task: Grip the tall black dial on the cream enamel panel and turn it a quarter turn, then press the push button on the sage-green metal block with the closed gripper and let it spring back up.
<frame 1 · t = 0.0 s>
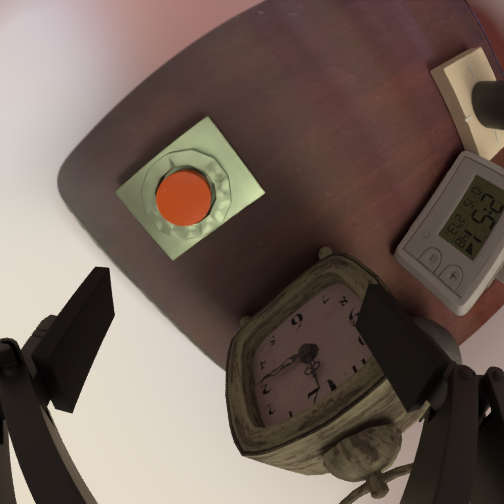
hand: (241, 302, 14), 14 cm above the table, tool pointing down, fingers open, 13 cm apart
button block: (190, 186, 25), on the table
product box: (500, 252, 33), on the table
digital clock: (437, 209, 29), on the table
bowl: (385, 345, 36), on the table
tabletop clock: (300, 300, 31), on the table
push button: (184, 197, 21), point 4 cm above the table, slide at 0.1 cm
dial panel: (471, 104, 24), on the table
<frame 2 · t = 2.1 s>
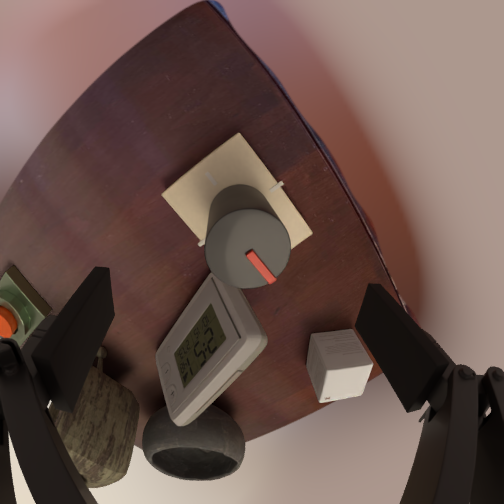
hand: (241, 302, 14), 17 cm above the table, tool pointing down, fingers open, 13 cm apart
button block: (18, 304, 31), on the table
product box: (328, 346, 38), on the table
digital clock: (202, 320, 35), on the table
bowl: (194, 413, 42), on the table
tabletop clock: (102, 375, 37), on the table
push button: (3, 322, 27), point 4 cm above the table, slide at 0.1 cm
dial panel: (238, 207, 30), on the table
dial: (243, 229, 23), point 7 cm above the table, hinge at 0.0°
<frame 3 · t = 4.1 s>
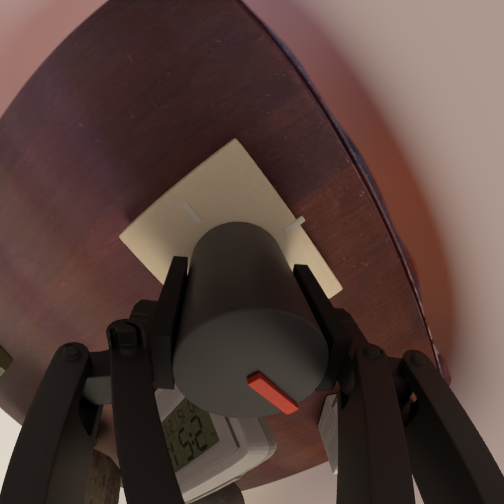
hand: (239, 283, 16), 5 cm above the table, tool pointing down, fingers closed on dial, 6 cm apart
product box: (345, 405, 29), on the table
digital clock: (190, 386, 25), on the table
bowl: (186, 467, 32), on the table
tabletop clock: (79, 428, 28), on the table
dial panel: (235, 250, 20), on the table
dial: (242, 307, 14), point 7 cm above the table, hinge at -0.1°, touching gripper
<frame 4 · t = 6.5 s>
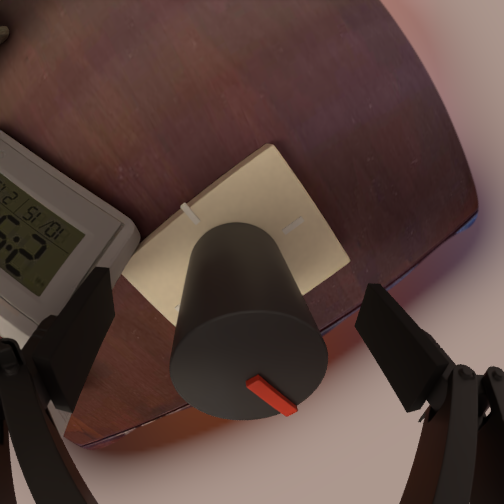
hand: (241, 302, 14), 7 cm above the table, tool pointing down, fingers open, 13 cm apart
product box: (49, 365, 23), on the table
digital clock: (48, 199, 17), on the table
dial panel: (233, 250, 20), on the table
dial: (241, 309, 14), point 7 cm above the table, hinge at 89.8°
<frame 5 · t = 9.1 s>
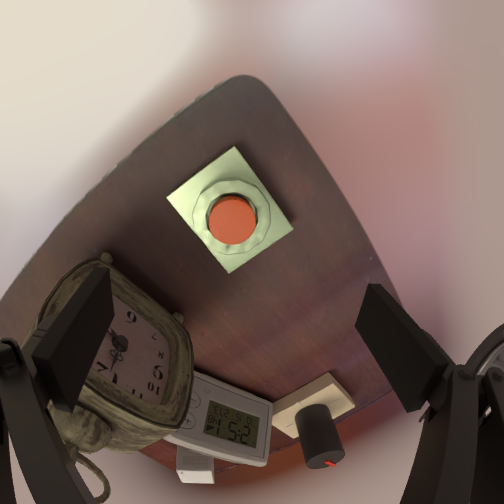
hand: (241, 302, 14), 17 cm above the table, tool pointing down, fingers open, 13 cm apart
button block: (230, 207, 30), on the table
product box: (196, 444, 46), on the table
digital clock: (222, 391, 40), on the table
tabletop clock: (130, 300, 33), on the table
push button: (232, 219, 26), point 4 cm above the table, slide at 0.1 cm
dial panel: (308, 402, 43), on the table
dial: (318, 437, 36), point 7 cm above the table, hinge at 89.8°
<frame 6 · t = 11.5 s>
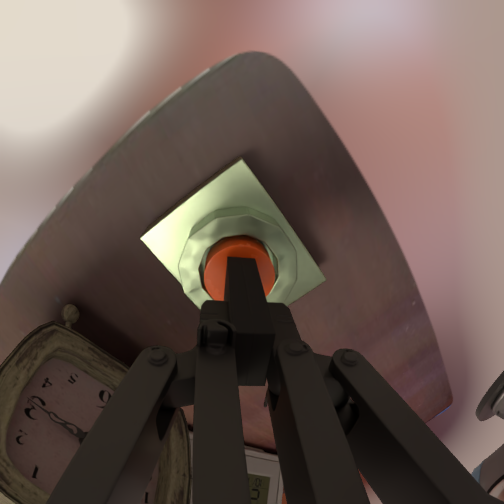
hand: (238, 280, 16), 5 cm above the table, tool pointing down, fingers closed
button block: (235, 247, 21), on the table
digital clock: (225, 448, 31), on the table
tabletop clock: (108, 358, 24), on the table
push button: (238, 271, 17), point 4 cm above the table, slide at -0.6 cm, touching gripper
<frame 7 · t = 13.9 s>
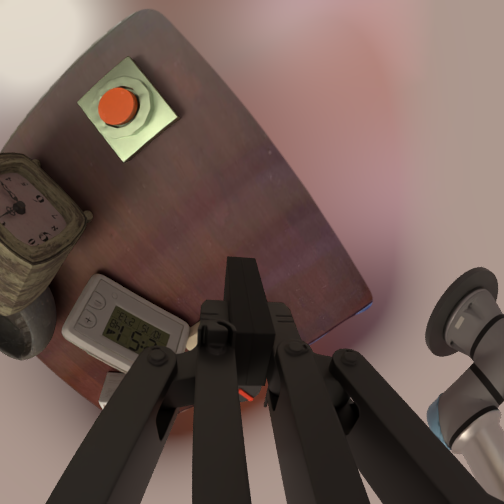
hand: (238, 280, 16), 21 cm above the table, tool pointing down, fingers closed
button block: (129, 109, 30), on the table
product box: (127, 382, 46), on the table
digital clock: (137, 308, 40), on the table
bowl: (31, 288, 37), on the table
tabletop clock: (53, 203, 33), on the table
push button: (117, 106, 26), point 4 cm above the table, slide at 0.1 cm
dial: (235, 364, 37), point 7 cm above the table, hinge at 89.8°
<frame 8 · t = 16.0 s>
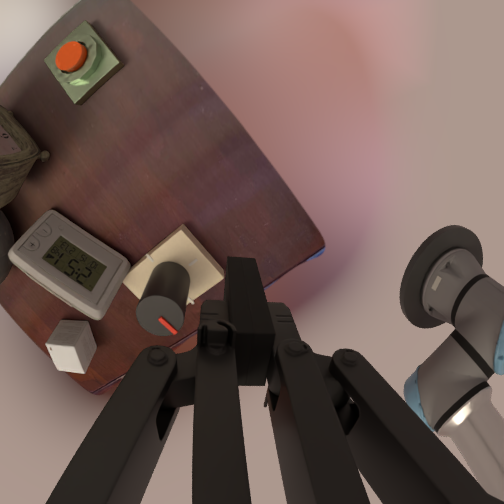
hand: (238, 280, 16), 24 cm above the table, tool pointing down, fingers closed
button block: (85, 62, 29), on the table
product box: (79, 332, 45), on the table
digital clock: (85, 245, 39), on the table
tabletop clock: (20, 149, 32), on the table
push button: (71, 56, 25), point 4 cm above the table, slide at 0.1 cm
dial panel: (172, 271, 42), on the table
dial: (165, 297, 36), point 7 cm above the table, hinge at 89.8°
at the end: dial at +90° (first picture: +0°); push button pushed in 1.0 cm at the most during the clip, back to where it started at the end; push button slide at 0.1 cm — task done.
